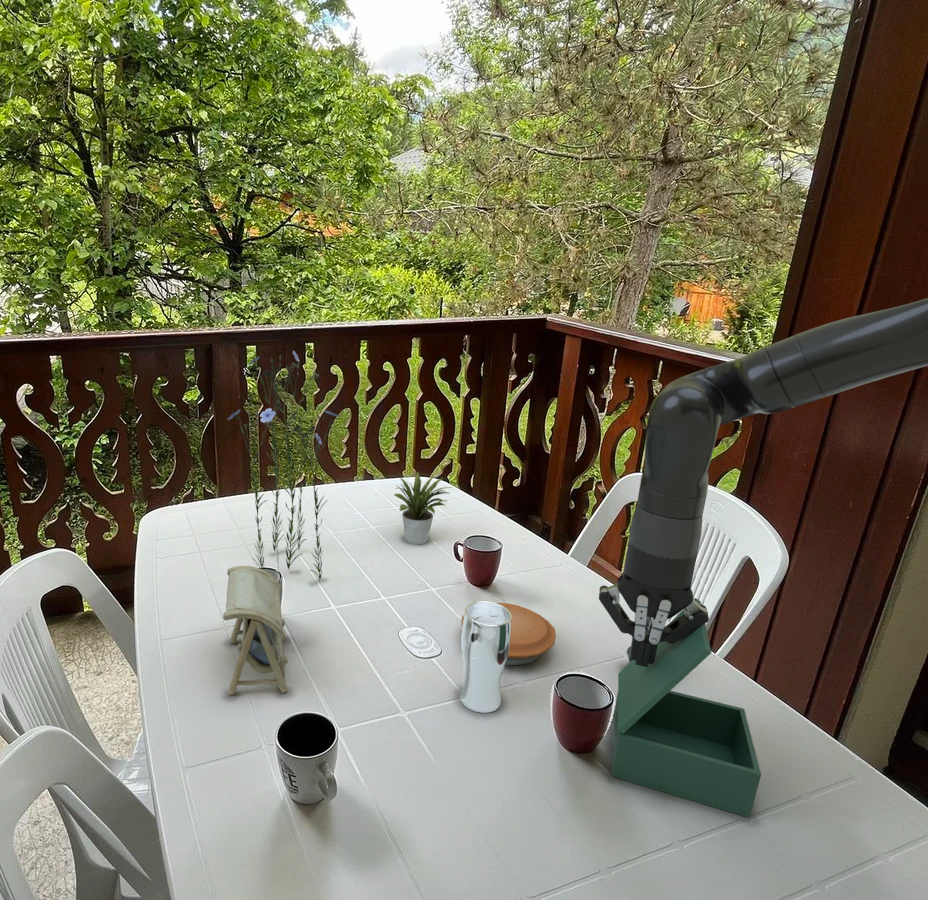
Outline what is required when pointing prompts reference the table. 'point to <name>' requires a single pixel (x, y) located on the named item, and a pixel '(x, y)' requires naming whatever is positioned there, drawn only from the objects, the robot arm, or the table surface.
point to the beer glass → (484, 654)
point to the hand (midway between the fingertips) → (641, 662)
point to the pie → (527, 635)
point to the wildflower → (268, 417)
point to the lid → (659, 674)
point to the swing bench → (256, 624)
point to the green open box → (690, 752)
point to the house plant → (418, 509)
